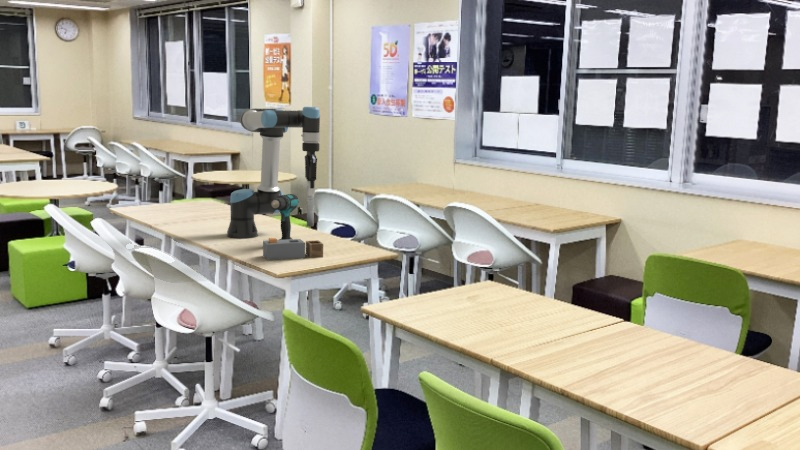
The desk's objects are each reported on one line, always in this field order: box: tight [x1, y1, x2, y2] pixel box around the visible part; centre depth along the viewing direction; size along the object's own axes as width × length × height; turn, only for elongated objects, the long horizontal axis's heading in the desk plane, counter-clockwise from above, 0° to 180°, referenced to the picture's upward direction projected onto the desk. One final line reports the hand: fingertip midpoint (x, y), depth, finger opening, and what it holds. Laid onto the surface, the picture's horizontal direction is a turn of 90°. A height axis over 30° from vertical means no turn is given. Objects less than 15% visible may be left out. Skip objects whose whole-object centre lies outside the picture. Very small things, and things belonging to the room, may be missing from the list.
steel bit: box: [306, 185, 315, 227], centre depth 322 cm, size 3×3×18 cm
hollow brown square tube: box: [305, 240, 324, 258], centre depth 327 cm, size 8×6×6 cm
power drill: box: [270, 193, 299, 240], centre depth 341 cm, size 26×9×25 cm, turn 168°
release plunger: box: [268, 237, 278, 243], centre depth 319 cm, size 3×3×8 cm
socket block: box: [262, 238, 306, 261], centre depth 321 cm, size 9×17×7 cm, turn 112°
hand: (310, 194), depth 321 cm, fingers closed on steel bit, 3 cm apart
